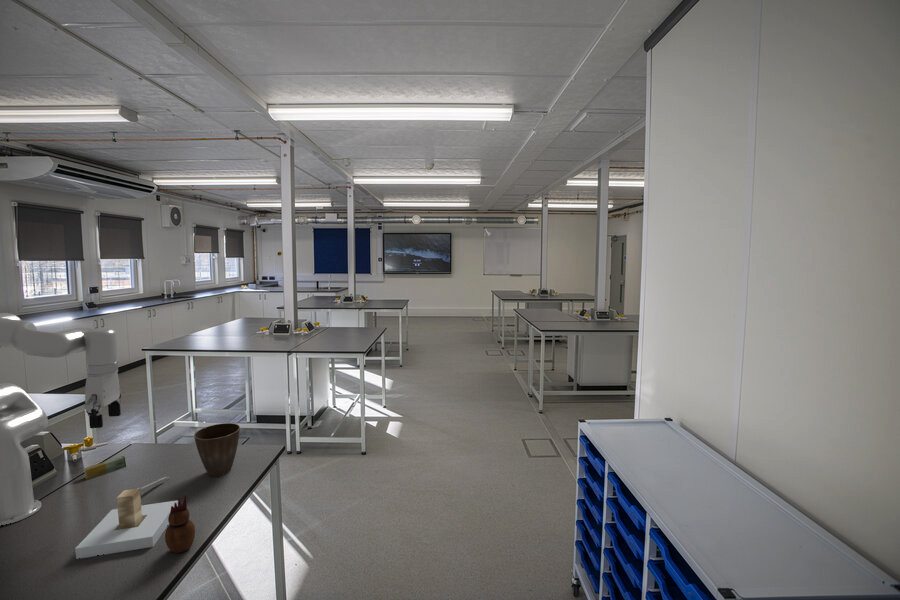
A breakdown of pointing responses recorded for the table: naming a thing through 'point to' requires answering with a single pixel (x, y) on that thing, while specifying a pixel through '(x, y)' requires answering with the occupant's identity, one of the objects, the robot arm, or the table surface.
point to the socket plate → (126, 532)
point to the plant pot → (217, 447)
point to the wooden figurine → (179, 528)
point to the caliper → (152, 485)
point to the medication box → (105, 467)
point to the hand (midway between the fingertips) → (105, 421)
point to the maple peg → (129, 509)
